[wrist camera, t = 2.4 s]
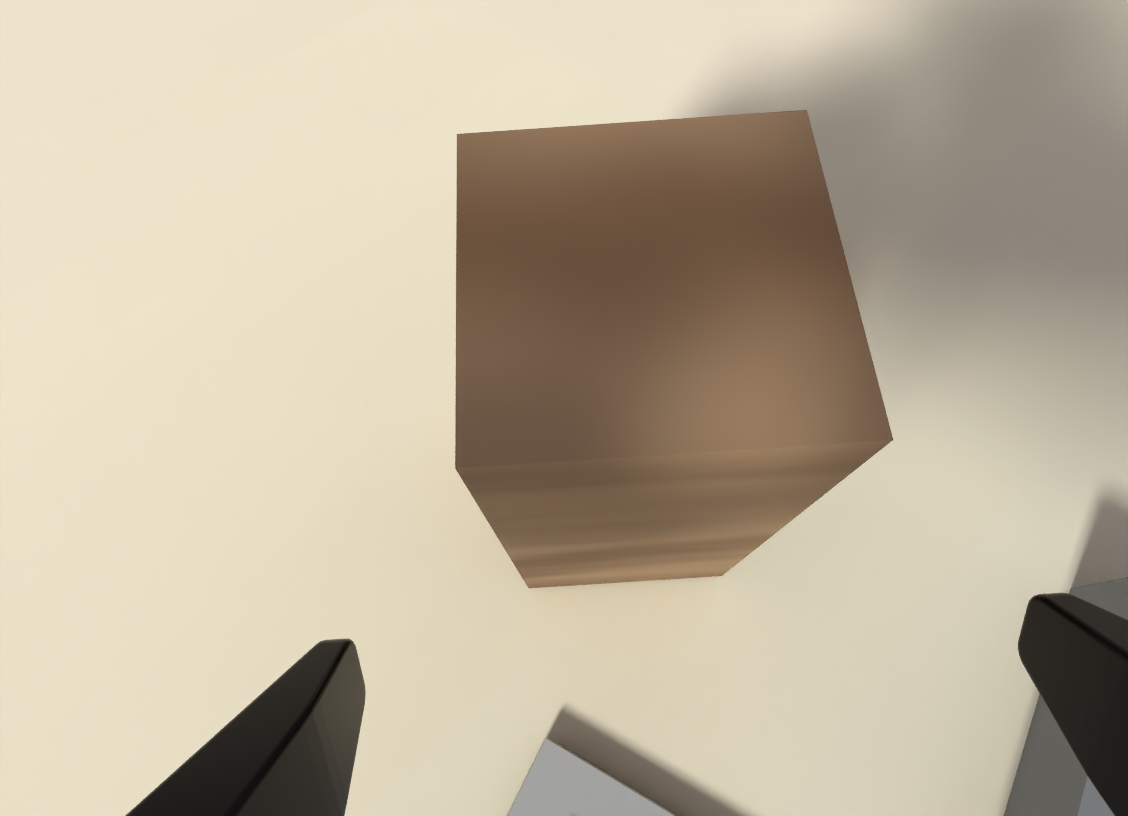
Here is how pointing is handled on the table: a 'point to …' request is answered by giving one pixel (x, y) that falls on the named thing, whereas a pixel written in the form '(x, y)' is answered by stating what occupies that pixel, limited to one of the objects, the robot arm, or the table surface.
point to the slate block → (1061, 744)
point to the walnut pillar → (653, 343)
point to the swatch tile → (577, 789)
